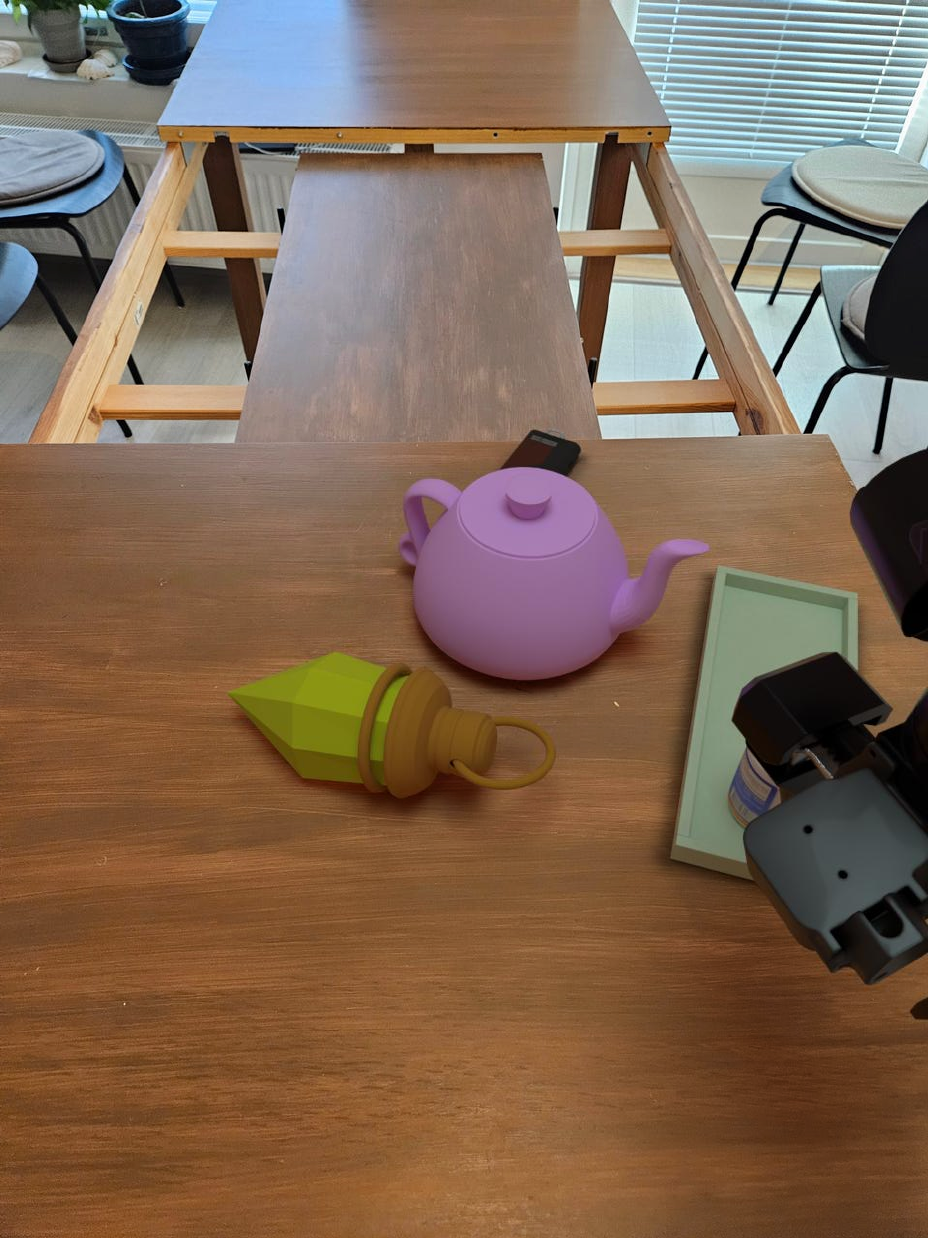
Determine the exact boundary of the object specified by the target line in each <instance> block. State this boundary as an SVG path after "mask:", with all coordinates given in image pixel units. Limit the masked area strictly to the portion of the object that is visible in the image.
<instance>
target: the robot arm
mask: <svg viewBox="0 0 928 1238" xmlns="http://www.w3.org/2000/svg"><path fill="white" fill-rule="evenodd" d="M848 514H849V522H850V527H851V528H852V530H853V533H854V534H855V536H856V539H857V541H858V543H859V545H860V547H861V550H862V551H863V554H864V555H865V557H866V560H867V562H868V564H869V566H870V568H871V570H872V572H873V574H874V576H875V579H876V580H877V583H878V585H879V586H880V589H881V591H882V593H883V595H884V597H885V599H886V601H887V603H888V605H889V607H890V610H891V612H892V614H893V616H894V618H895V620H896V623H897V624H898V626H899V628H900V630H901V632H902V634H903V636H904V637H906V638H913V639H915V640H919V641H921V642H925V643H928V445H927V446H926V448H923V449H920V450H918V451H915V452H913V453H909V454H908V455H905V456H903V457H901V458H899V459H897V460H896V461H894V462H892V463H891V464H889V465H887V466H885V467H884V468H883V469H882V470H880V471H879V472H878V473H877V474H875V476H873V477H872V478H871V479H870V480H869V481H868V482H867V483H866V485H865V486H861V487H860V488H859V489H858V490H857V491H856V493H855V495H854V497H853V499H852V501H851V505H850V508H849V513H848ZM893 710H894V708H893V706H891V704H890V703H888V701H887V700H886V699H885V698H884V697H883V696H882V695H881V694H880V693H879V692H878V690H876V689H875V688H874V687H873V685H871V683H870V682H869V681H868V680H867V679H866V678H865V677H864V675H863V674H861V673H860V671H859V670H858V671H857V670H856V668H855V667H854V666H853V665H852V664H851V663H850V662H849V661H848V660H847V659H846V658H845V657H844V656H842V655H841V654H839V653H838V652H822V653H819V654H816V655H813V656H811V657H808V658H805V659H803V660H800V661H797V662H795V663H792V664H789V665H787V666H784V667H781V668H779V669H776V670H773V671H770V672H768V673H765V674H762V675H760V676H757V677H755V678H754V679H753V680H751V681H750V682H749V683H748V684H747V685H746V686H744V687H743V688H742V690H741V692H740V695H739V698H738V700H737V703H736V705H735V708H734V712H733V716H732V720H731V721H732V722H733V724H734V725H735V726H736V728H737V729H738V730H739V731H740V733H741V734H742V735H743V737H744V738H745V743H746V746H747V748H748V750H749V751H750V752H751V753H752V755H753V756H754V757H755V759H756V760H757V761H758V763H759V764H760V765H761V766H762V768H763V769H764V770H765V772H766V773H767V774H768V775H769V777H770V778H771V779H772V781H773V782H774V783H775V785H776V786H777V787H779V791H780V798H781V803H780V804H778V805H777V806H775V807H773V808H771V809H770V810H768V811H766V812H765V813H763V814H761V815H759V816H758V817H756V818H755V819H753V820H752V821H750V822H749V823H748V825H747V826H746V828H745V830H744V833H743V844H744V849H745V855H746V861H747V866H748V870H749V873H750V875H751V876H752V878H753V879H754V881H753V882H755V884H756V886H757V887H759V889H760V890H761V891H762V893H763V894H764V896H765V897H766V899H767V900H768V902H769V903H770V904H771V906H772V907H773V908H774V910H775V911H776V913H777V914H778V917H780V919H781V920H782V921H783V924H784V925H785V926H786V928H787V930H788V931H789V933H790V934H791V936H792V937H793V939H794V940H795V941H796V942H797V943H798V945H800V946H802V947H803V948H804V949H807V950H808V951H811V952H814V953H815V952H816V954H817V956H818V957H819V959H820V960H821V962H822V963H823V964H824V965H825V967H826V968H827V970H828V971H829V973H830V974H834V973H837V972H839V971H841V970H843V969H845V968H848V969H849V968H850V969H852V970H853V971H854V972H855V973H856V974H857V976H858V977H859V978H860V980H861V981H862V983H863V984H864V985H866V986H872V985H875V984H877V983H880V982H881V981H883V980H885V979H887V978H888V977H890V976H892V975H894V974H895V973H897V972H898V971H900V970H902V969H904V968H905V967H907V966H909V965H911V964H912V963H914V962H915V961H917V960H919V959H921V958H923V957H924V956H925V955H927V954H928V923H927V921H926V920H928V685H927V686H926V687H925V689H924V691H923V693H922V694H921V695H920V697H919V699H918V700H917V702H916V703H915V704H914V706H913V708H912V709H911V711H910V713H909V714H908V716H907V717H906V719H905V720H904V722H900V723H899V724H896V725H893V726H891V727H889V728H886V729H884V730H882V731H879V732H878V733H877V734H876V736H875V735H874V734H873V733H872V732H871V731H870V730H869V729H868V728H867V727H866V726H872V727H878V726H880V725H881V724H885V723H886V722H887V720H888V719H889V717H890V715H891V713H892V712H893ZM909 1013H910V1015H911V1016H912V1017H913V1019H914V1020H918V1021H919V1020H920V1021H921V1020H922V1021H923V1020H924V1021H928V996H926V997H925V998H922V999H921V1000H918V1001H917V1002H916V1003H915V1004H914V1005H913V1006H912V1007H911V1009H910V1010H909Z"/></svg>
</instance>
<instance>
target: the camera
mask: <svg viewBox="0 0 928 1238" xmlns="http://www.w3.org/2000/svg"><path fill="white" fill-rule="evenodd" d="M551 432H554V433H557V434H560V436H557V435H554V434H552V433H551ZM581 452H582V447H581V446H580V444H579V443H577V442H576V441H574V440H573V441H572V440H570V439H566V436H565V432H563V431H562V430H558V429H555V428H552V427H549V428H548V429H547V430H546V431H545V432H544V431H541V430H538V429H531V430H530V431H528V433H527V435H526V436H525V437H524V438H523V439H522V440H521V442H520V443H519V444H518V446H517V447H516V448H515V449H514V451H513V452H512V453H511V454H510V455H509V457H508V458H507V459H506V461H504V463H503V464H502V466H501V467H500V468H499V470H503V469H508V468H517V467H530V468H539V469H545V470H549V471H553V472H555V473H558V474H561V475H563V476H566V475H568V473H569V471H570V470H571V468H572V467H573V466H574V464H575V463H576V462H577V460H578V459H579V455H580V454H581Z"/></svg>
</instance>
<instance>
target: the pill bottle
mask: <svg viewBox="0 0 928 1238" xmlns="http://www.w3.org/2000/svg"><path fill="white" fill-rule="evenodd" d="M728 803H729V807H730V810H731V812H732V814H733V816H734V817H735V819H736V820H737V821H738V822H739V823H740V824H741V825H742V826H743V827H745V828H746V826H747V825H748V823H749V822H750V821H752V820H753V819H755V818H756V817H758V816H759V815H761V814H763V813H765V812H766V811H768V810H770V809H771V808H773V807H775V806H777V805H778V804H780V803H781V798H780V791H779V787H777V786H776V785H775V783H774V782H773V781H772V779H771V778H770V777H769V775H768V774H767V773H766V772H765V770H764V769H763V768H762V766H761V765H760V764H759V763H758V761H757V760H756V759H755V757H754V756H753V755H752V753H751V752H750V751H749V750H748V748H747V746H746V748H745V751H744V753H743V755H742V758H741V760H740V763H739V765H738V768H737V770H736V773H735V775H734V777H733V780H732V782H731V785H730V788H729V792H728Z"/></svg>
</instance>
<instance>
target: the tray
mask: <svg viewBox="0 0 928 1238" xmlns="http://www.w3.org/2000/svg"><path fill="white" fill-rule="evenodd" d="M705 623H706V624H705V631H704V636H703V643H702V648H701V649H702V650H701V655H700V662H699V667H698V668H699V669H698V676H697V683H696V689H695V696H694V700H693V701H694V702H693V707H692V714H691V721H690V728H689V734H688V741H687V747H686V754H685V759H684V767H683V773H682V780H681V784H680V785H681V786H680V792H679V799H678V805H677V806H678V807H677V813H676V817H675V825H674V832H673V838H672V845H671V852H670V856H669V857H670V860H675V861H678V862H682V863H686V864H689V865H693V866H697V867H701V868H703V869H708V870H711V871H716V872H719V873H724V874H727V875H731V876H734V877H738V878H742V879H745V880H748V881H749V880H750V881H753V882H755V881H754V879H753V878H752V876H751V875H750V873H749V870H748V866H747V861H746V855H745V849H744V844H743V833H744V830H745V827H743V826H742V825H741V824H740V823H739V822H738V821H737V820H736V819H735V817H734V816H733V814H732V812H731V810H730V807H729V803H728V792H729V788H730V785H731V782H732V780H733V777H734V775H735V773H736V770H737V768H738V765H739V763H740V760H741V758H742V755H743V753H744V751H745V748H746V743H745V738H744V737H743V735H742V734H741V733H740V731H739V730H738V729H737V728H736V726H735V725H734V724H733V722H732V721H731V720H732V716H733V712H734V708H735V705H736V703H737V700H738V698H739V695H740V692H741V690H742V688H743V687H744V686H746V685H747V684H748V683H749V682H750V681H751V680H753V679H754V678H755V677H757V676H760V675H762V674H765V673H768V672H770V671H773V670H776V669H779V668H781V667H784V666H787V665H789V664H792V663H795V662H797V661H800V660H803V659H805V658H808V657H811V656H813V655H816V654H819V653H822V652H838V653H839V654H841V655H842V656H844V657H845V658H846V659H847V660H848V661H849V662H850V663H851V664H852V665H853V666H854V667H855V668H856V670H857V671H858V672H859V593H858V592H853V591H849V590H845V589H844V590H843V589H839V588H834V587H830V586H824V585H820V584H813V583H809V582H804V581H798V580H794V579H789V578H784V577H780V576H774V575H771V574H765V573H759V572H755V571H749V570H745V569H739V568H735V567H730V566H726V565H725V566H724V565H720V564H717V566H716V570H715V572H714V576H713V580H712V585H711V592H710V597H709V603H708V611H707V616H706V622H705Z"/></svg>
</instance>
